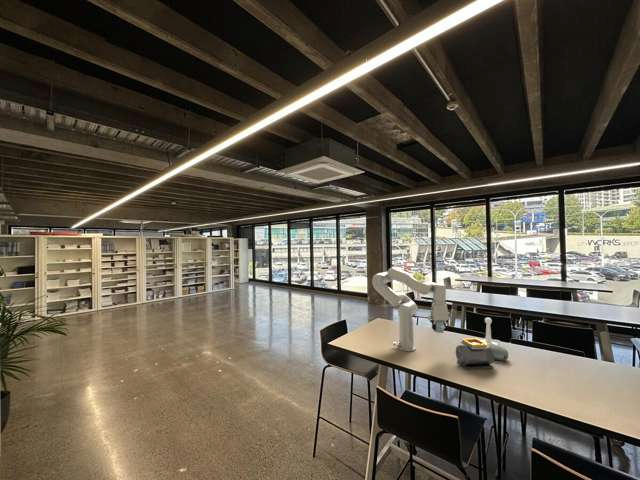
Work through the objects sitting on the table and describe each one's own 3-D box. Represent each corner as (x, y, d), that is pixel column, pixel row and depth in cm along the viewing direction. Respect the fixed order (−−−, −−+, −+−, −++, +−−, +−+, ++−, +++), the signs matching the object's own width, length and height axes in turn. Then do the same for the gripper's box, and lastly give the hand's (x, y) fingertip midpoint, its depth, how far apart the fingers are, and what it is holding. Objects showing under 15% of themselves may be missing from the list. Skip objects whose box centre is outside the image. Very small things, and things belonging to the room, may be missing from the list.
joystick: (498, 346, 190) (497, 318, 191) (495, 349, 185) (495, 320, 185) (481, 342, 198) (480, 315, 199) (477, 344, 193) (477, 317, 193)
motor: (467, 370, 154) (466, 345, 154) (455, 361, 165) (455, 338, 165) (497, 368, 155) (497, 344, 156) (484, 360, 166) (484, 337, 167)
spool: (511, 353, 169) (505, 341, 168) (510, 365, 163) (504, 352, 161) (487, 352, 179) (481, 341, 177) (485, 363, 172) (479, 351, 170)
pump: (439, 334, 168) (439, 323, 168) (432, 329, 176) (432, 319, 176) (448, 334, 168) (448, 323, 168) (440, 329, 177) (440, 319, 177)
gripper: (429, 303, 169) (429, 331, 169) (455, 303, 171) (454, 331, 171) (423, 301, 177) (423, 328, 177) (448, 301, 178) (448, 327, 178)
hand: (438, 329), depth 174 cm, fingers closed on pump, 6 cm apart
